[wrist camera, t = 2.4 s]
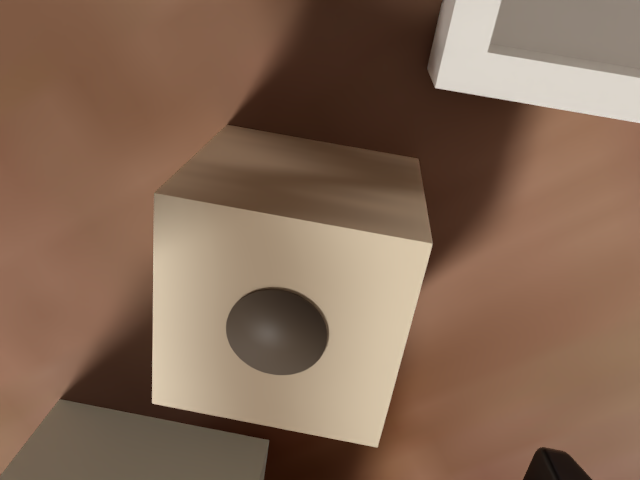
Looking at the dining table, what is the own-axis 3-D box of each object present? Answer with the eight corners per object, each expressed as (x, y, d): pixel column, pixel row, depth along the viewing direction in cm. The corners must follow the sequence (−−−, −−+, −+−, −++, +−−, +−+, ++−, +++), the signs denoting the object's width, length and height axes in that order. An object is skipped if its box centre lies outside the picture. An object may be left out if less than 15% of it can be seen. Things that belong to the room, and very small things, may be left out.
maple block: (418, 157, 14) (433, 245, 9) (380, 317, 16) (377, 450, 12) (227, 123, 14) (152, 194, 10) (216, 286, 16) (150, 405, 12)
